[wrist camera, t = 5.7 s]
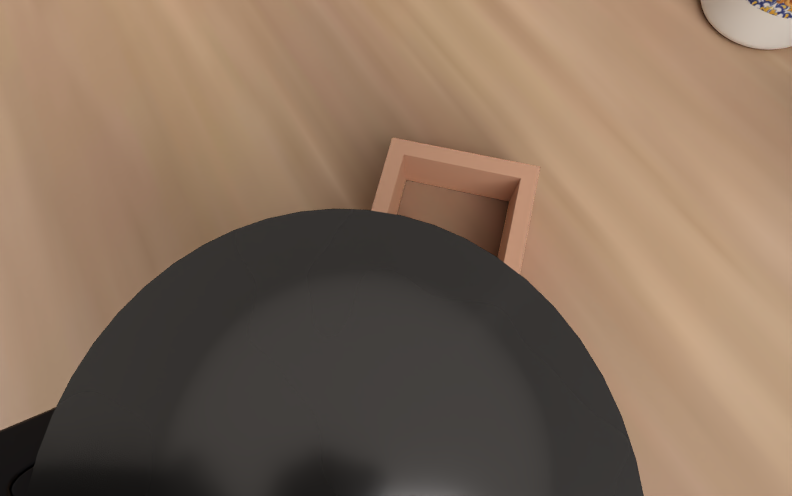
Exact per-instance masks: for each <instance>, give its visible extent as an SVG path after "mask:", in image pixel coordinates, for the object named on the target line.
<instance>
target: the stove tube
mask: <svg viewBox="0 0 792 496" xmlns="http://www.w3.org/2000/svg"><path fill="white" fill-rule="evenodd" d="M26 496H644V495H643V491H642V486H641V481H640V476H639V471H638V467H637V462H636V458H635V455H634V452H633V449H632V446H631V443H630V440H629V437H628V434H627V431H626V428H625V425H624V422H623V419H622V416H621V414H620V412H619V409H618V407H617V405H616V403H615V401H614V399H613V397H612V394H611V392H610V390H609V388H608V386H607V384H606V382H605V379H604V377H603V375H602V374H601V372H600V370H599V369H598V367H597V366H596V364H595V362H594V361H593V359H592V358H591V356H590V354H589V353H588V351H587V349H586V348H585V346H584V345H583V343H582V341H581V340H580V338H579V337H578V336H577V335H576V333H575V332H574V331H573V330H572V328H571V327H570V326H569V325H568V323H567V322H566V321H565V320H564V318H563V317H562V316H561V315H560V313H559V312H558V311H557V310H556V308H555V307H554V306H553V305H552V304H551V303H550V302H549V301H548V300H547V299H546V298H545V297H544V296H543V295H542V294H541V293H540V292H539V291H537V290H536V289H535V288H534V287H533V286H532V285H531V284H530V283H529V282H528V281H527V280H526V279H525V278H523V277H522V276H521V275H520V274H518V273H517V272H516V271H514V270H513V269H512V268H511V267H509V266H508V265H507V264H505V263H504V262H503V261H501V260H500V259H499V258H498V257H496V256H494V255H492V254H491V253H489V252H487V251H486V250H484V249H482V248H481V247H479V246H477V245H476V244H474V243H472V242H470V241H469V240H467V239H465V238H463V237H460V236H458V235H456V234H454V233H451V232H449V231H447V230H444V229H442V228H440V227H437V226H435V225H432V224H429V223H425V222H422V221H419V220H415V219H412V218H408V217H405V216H401V215H396V214H390V213H383V212H377V211H371V210H355V209H325V210H314V211H303V212H296V213H292V214H287V215H282V216H278V217H273V218H268V219H265V220H262V221H259V222H256V223H253V224H250V225H247V226H245V227H242V228H239V229H236V230H233V231H231V232H229V233H227V234H225V235H223V236H221V237H219V238H217V239H215V240H212V241H210V242H208V243H206V244H204V245H202V246H201V247H199V248H198V249H196V250H194V251H193V252H191V253H190V254H188V255H186V256H185V257H183V258H182V259H180V260H179V261H177V262H175V263H174V264H172V265H171V266H170V267H169V268H167V269H166V270H165V271H164V272H162V273H161V274H160V275H159V276H157V277H156V278H155V279H154V280H152V281H151V282H150V283H149V284H147V285H146V286H145V287H144V288H143V289H142V290H141V291H140V292H139V293H138V294H137V295H136V296H135V297H134V298H133V299H132V300H131V301H130V302H129V303H128V304H127V305H126V306H125V307H124V308H123V309H122V310H121V311H120V312H119V313H118V314H117V315H116V316H115V317H114V319H113V320H112V321H111V322H110V324H109V325H108V326H107V327H106V328H105V330H104V331H103V332H102V333H101V335H100V336H99V337H98V338H97V340H96V341H95V342H94V343H93V345H92V346H91V348H90V349H89V351H88V353H87V354H86V356H85V357H84V359H83V360H82V362H81V363H80V365H79V366H78V368H77V369H76V371H75V373H74V374H73V376H72V377H71V379H70V381H69V383H68V385H67V387H66V389H65V391H64V393H63V395H62V397H61V399H60V401H59V403H58V405H57V407H56V409H55V411H54V412H53V415H52V417H51V420H50V422H49V425H48V428H47V430H46V433H45V435H44V438H43V441H42V443H41V446H40V448H39V451H38V454H37V457H36V461H35V464H34V468H33V472H32V476H31V479H30V483H29V487H28V490H27V494H26Z"/></svg>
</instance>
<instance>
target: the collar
mask: <svg viewBox="0 0 792 496" xmlns="http://www.w3.org/2000/svg"><path fill="white" fill-rule="evenodd" d="M539 172H540V167H539V166H534V165H529V164H524V163H519V162H514V161H509V160H504V159H499V158H494V157H489V156H484V155H479V154H474V153H469V152H464V151H459V150H454V149H449V148H444V147H439V146H434V145H428V144H423V143H418V142H413V141H408V140H403V139H398V138H393V137H392V140H391V144H390V147H389V150H388V154H387V157H386V161H385V164H384V168H383V171H382V175H381V178H380V181H379V185H378V188H377V192H376V195H375V199H374V202H373V205H372V209H371V211H377V212H383V213H390V214H396V215H397V212H398V209H399V205H400V201H401V198H402V194H403V190H404V187H405V183H406V180H410V181H414V182H419V183H424V184H429V185H433V186H438V187H443V188H447V189H452V190H457V191H462V192H466V193H471V194H476V195H481V196H485V197H490V198H495V199H499V200H504V201H509V204H508V209H507V214H506V219H505V223H504V228H503V233H502V238H501V243H500V248H499V252H498V258H499V259H500V260H501V261H503V262H504V263H505V264H507V265H508V266H509V267H511V268H512V269H513V270H514V271H516V272H517V273H518V274H520V272H521V267H522V261H523V256H524V251H525V246H526V240H527V235H528V230H529V225H530V219H531V214H532V209H533V204H534V198H535V193H536V188H537V183H538V177H539Z"/></svg>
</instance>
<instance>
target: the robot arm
mask: <svg viewBox="0 0 792 496" xmlns="http://www.w3.org/2000/svg"><path fill="white" fill-rule="evenodd" d="M55 409H56V407H55V408H53V409H51V410H49V411H46V412H44V413H41V414H39V415H37V416H34V417H32V418H29V419H27V420H25V421H22V422H20V423H17V424H15V425H13V426H10V427H8V428H6V429H3V430H1V431H0V496H26V494H27V490H28V487H29V483H30V479H31V476H32V472H33V468H34V464H35V461H36V457H37V454H38V451H39V448H40V446H41V443H42V441H43V438H44V435H45V433H46V430H47V428H48V425H49V422H50V420H51V417H52V415H53V412H54V411H55Z"/></svg>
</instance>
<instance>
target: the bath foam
mask: <svg viewBox="0 0 792 496" xmlns="http://www.w3.org/2000/svg"><path fill="white" fill-rule="evenodd" d="M701 5H702V9H703V12H704V14H705V16H706V18H707V19H708V21H709V22H710V24H711V25H712V26H713V27H714V28H715V29H716V30H717V31H718V32H719V33H721V34H722V35H723V36H725V37H726V38H728V39H730V40H732V41H734V42H736V43H738V44H741V45H743V46H747V47H751V48H756V49H765V50H773V49H783V48H788V47H791V46H792V0H701Z"/></svg>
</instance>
